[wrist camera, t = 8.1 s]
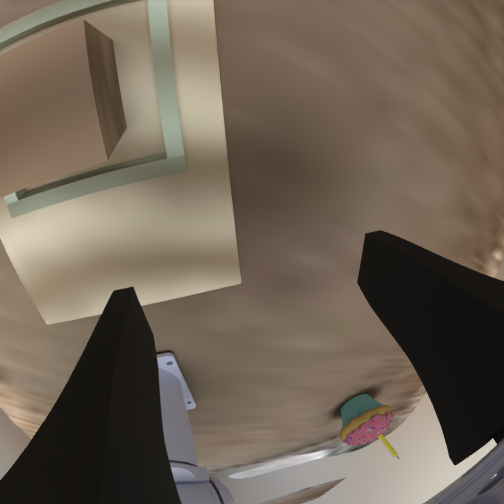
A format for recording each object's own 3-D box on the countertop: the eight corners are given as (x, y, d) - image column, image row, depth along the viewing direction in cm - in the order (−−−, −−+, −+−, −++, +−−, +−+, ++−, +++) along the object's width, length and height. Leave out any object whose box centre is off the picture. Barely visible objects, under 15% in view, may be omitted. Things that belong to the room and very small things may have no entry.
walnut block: (126, 127, 13) (107, 160, 8) (45, 153, 12) (-8, 201, 7) (113, 40, 10) (83, 19, 5) (27, 71, 9) (-38, 78, 5)
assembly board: (237, 274, 21) (246, 295, 19) (49, 314, 18) (44, 337, 16) (208, -17, 11) (215, -30, 9) (-36, 62, 8) (-57, 64, 6)
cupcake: (385, 379, 40) (425, 440, 30) (366, 407, 44) (398, 462, 35) (338, 396, 37) (376, 467, 28) (321, 423, 42) (352, 485, 32)
